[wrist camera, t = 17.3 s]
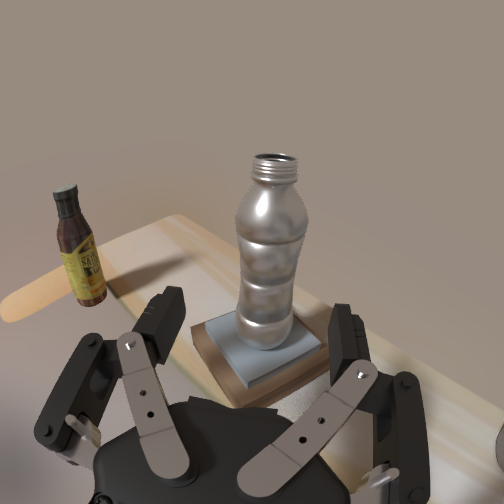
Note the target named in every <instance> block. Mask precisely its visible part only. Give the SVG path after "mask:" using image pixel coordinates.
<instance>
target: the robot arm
mask: <svg viewBox="0 0 504 504" xmlns="http://www.w3.org/2000/svg"><path fill="white" fill-rule="evenodd" d="M185 315H186V307H185V302H184V296H183V291H182V288H181V287H174V286H167V287H166V289H165V290H164V292H163V294H157V295H156V296H154V297H153V298H152V299H151V300H150V302H149V303H148V305H147V307H146V308H145V310H144V312H143V313H142V315H141V316H140V318H139V319H138V321H137V323H136V324H135V326H134V328H133V330H132V331H131V332H127V333H124V334H123V335H121V336H120V337H119V338H118V340H103V338H102V336H101V335H100V334H98V333H89V334H87V335H85V336H84V337H83V338H82V339H81V341H80V342H79V344H78V345H77V347H76V349H75V351H74V352H73V354H72V356H71V357H70V359H69V361H68V363H67V364H66V366H65V368H64V370H63V372H62V373H61V375H60V377H59V379H58V381H57V382H56V384H55V386H54V388H53V390H52V392H51V394H50V396H49V398H48V400H47V401H46V404H45V406H44V408H43V410H42V412H41V414H40V416H39V418H38V420H37V422H36V424H35V427H34V436H35V438H36V440H37V441H38V442H39V443H40V444H42V445H43V446H44V447H46V448H47V449H48V450H49V451H50V452H52V453H53V454H55V455H56V456H58V457H59V458H61V459H63V460H65V461H67V462H68V463H70V464H72V465H81V466H84V467H85V468H88V469H90V470H92V471H93V472H94V479H95V490H94V495H93V497H92V499H91V501H90V502H89V503H88V504H427V502H428V500H429V498H430V465H429V450H428V439H427V430H426V422H425V415H424V408H423V401H422V395H421V390H420V384H419V381H418V379H417V377H416V376H415V375H414V374H412V373H410V372H406V371H404V372H400V373H398V374H397V375H396V376H391V375H388V374H384V373H381V372H379V371H378V370H377V368H376V366H375V365H374V364H373V363H371V360H370V354H369V348H368V343H367V338H366V333H365V328H364V323H363V321H362V320H361V318H360V317H359V315H354V314H353V315H352V314H351V310H350V305H349V304H336V303H335V305H334V308H333V312H332V315H331V319H330V323H329V327H328V344H329V361H330V383H331V389H330V390H329V391H325V392H324V393H323V394H322V395H321V396H320V397H319V398H318V399H317V400H316V401H315V402H314V404H313V405H312V406H311V407H310V408H309V409H308V410H307V411H306V412H305V413H304V414H303V415H302V416H301V417H300V418H299V419H298V420H297V421H296V422H295V423H293V422H292V421H290V420H289V419H287V418H285V417H283V416H280V415H277V412H278V409H271V408H262V407H248V408H236V409H232V408H228V407H226V406H224V405H221V404H219V403H216V402H214V401H212V400H208V399H203V398H197V397H192V396H189V399H188V401H185V402H178V403H175V404H172V405H169V403H168V401H167V399H166V396H165V394H164V391H163V389H162V386H161V384H160V381H159V378H158V376H157V373H156V370H155V367H156V364H157V363H159V364H163V365H164V364H165V362H166V360H167V357H168V355H169V353H170V350H171V348H172V346H173V344H174V341H175V339H176V337H177V335H178V332H179V330H180V328H181V326H182V324H183V321H184V319H185ZM118 378H122V380H123V384H124V388H125V391H126V395H127V398H128V402H129V405H130V409H131V412H132V415H133V418H134V421H135V424H136V426H135V427H133V428H131V429H130V430H128V431H126V432H125V433H123V434H121V435H119V436H118V437H116V438H114V439H112V440H111V441H109V442H107V443H105V444H104V445H102V446H101V445H100V444H101V432H100V430H99V429H98V426H99V423H100V421H101V418H102V416H103V413H104V411H105V408H106V406H107V404H108V401H109V399H110V396H111V394H112V392H113V389H114V387H115V385H116V382H117V380H118ZM356 409H358V410H361V411H365V412H368V413H372V414H373V469H372V470H371V471H369V472H367V473H366V474H365V475H364V476H363V477H362V479H361V481H360V484H359V487H358V489H357V491H356V492H355V493H354V494H350V493H349V491H348V489H347V488H346V486H345V485H344V484H343V483H342V481H341V480H340V479H339V478H338V477H337V475H336V474H335V473H334V472H333V471H332V469H331V468H330V467H329V466H328V464H327V463H326V462H325V461H324V459H323V458H322V457H321V456H320V454H319V453H320V452H321V451H322V450H323V449H324V448H325V447H326V445H327V444H328V443H329V442H330V441H331V440H332V438H333V437H334V436H335V435H336V434H337V432H338V431H339V430H340V429H341V428H342V426H343V425H344V424H345V423H346V421H347V420H348V419H349V418H350V416H351V415H352V414H353V413H354V411H355V410H356ZM496 455H497V459H498V463H499V465H500V467H501V468H502V469H503V471H504V427H503V428H502V429H501V431H500V433H499V435H498V438H497V443H496Z"/></svg>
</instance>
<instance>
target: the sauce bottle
mask: <svg viewBox="0 0 504 504" xmlns="http://www.w3.org/2000/svg"><path fill="white" fill-rule="evenodd" d="M53 196H54V200H55V201H56V205H57V210H58V217H59V219H60V220H59V224H58V229H57V240H58V243H59V247H60V252H61V256H62V259H63V262H64V266H65V269H66V272H67V275H68V278H69V281H70V284H71V286H72V289H73V292H74V295H75V296H76V297H77V300H78V302H79V303H80V304H81V305H82V306H85V307H92V306H95V305H97V304H99V303H101V302H102V301H103V300H104V299H105V298H106V296H107V289H106V282H105V279H104V275H103V272H102V268H101V265H100V261H99V257H98V253H97V249H96V245H95V241H94V236H93V232H92V230H91V228H90V227H89V225H88V223H87V222H86V220H85V218H84V216H83V215H82V213H81V209H80V206H79V201H78V189H77V185H76V184H68V185H65V186H62V187H59V188H57V189H55V190H54V191H53Z"/></svg>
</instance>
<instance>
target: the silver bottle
mask: <svg viewBox="0 0 504 504" xmlns="http://www.w3.org/2000/svg"><path fill="white" fill-rule="evenodd" d="M297 164H298V161H297V158H296V157H294V156H291V155H287V154H280V153H261V154H256V155H254V156H253V169H252V172H251V179H252V180H254V181H255V182H254V185H253V186H252V188H251V189H250V190H249V191H248V192H247V193H246V195H245V196H244V198H243V199H242V201H241V202H240V204H239V206H238V209H237V212H236V215H235V224H236V232H237V239H238V246H239V253H240V269H241V272H240V273H241V283H240V292H239V301H238V304H237V307H236V313H235V320H234V321H235V327H236V331H237V334H238V337H239V338H240V339H241V340H242V341H243V342H244V343H245V344H246V345H248V346H250V347H251V348H254V349H258V350H268V349H272V348H275V347H277V346H279V345H281V344H282V343H283V342H284V341H285V340H286V339H287V338H288V336H289V333H290V331H291V329H292V326H293V306H292V301H293V282H294V277H295V272H296V267H297V262H298V258H299V254H300V251H301V248H302V245H303V241H304V238H305V233H306V230H307V225H308V215H307V210H306V207H305V205H304V203H303V201H302V199H301V197H300V196H299V194H298V193H297V191H296V189H295V188H294V183H295V182H297V179H298V174H297Z"/></svg>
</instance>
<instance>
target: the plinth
mask: <svg viewBox="0 0 504 504" xmlns="http://www.w3.org/2000/svg"><path fill="white" fill-rule="evenodd" d="M235 313H236V310H235V311H233V312H230V313H227V314H225V315H222V316H219V317H217V318H214V319H211V320H208V321H206V322H203V323H200V324H197V325H195V326H192V327H190V328H191V334H192V339H193V344H194V346H195V348H196V350H197V351H198V353H199V354H200V356H201V358H202V359H203V361H204V363H205V364H206V366H207V367H208V369H209V371H210V372H211V374H212V375H213V377H214V378H215V380H216V381H217V383H218V384H219V386H220V387H221V389H222V390H223V392H224V393H225V395H226V396H227V398H228V399H229V401H230V402H231V404H232V405H233V407H234V408H235V409H236V408H248V407H262V408H266V407H268V406H269V405H271V404H273V403H275V402H277V401H279V400H280V399H282V398H284V397H286V396H287V395H289V394H291V393H293V392H294V391H296V390H298V389H299V388H301V387H303V386H304V385H306V384H307V383H309V382H311V381H312V380H314V379H315V378H317V377H319V376H320V375H322V374H323V373H325V372H326V371H328V370H329V369H330V361H329V346H328V345H327V344H326V343H325V342H324V341H322V340H321V339H320V338H319V337H318V336H317V335H316V334H315V333H314V332H313V331H312V330H311V329H309V328H308V327H307V326H306V325H305V324H304V323H303V322H302V321H301V320H300V319H299V318H298V317H297V316H295V315H294V314H293V326H292V329H291V331H290V333H289V336H288V338H287V339H286V340H285V341H284V342H283V343H282V344H281V345H279V346H277V347H275V348H272V349H268V350H258V349H254V348H251V347H250V346H248V345H246V344H245V343H244V342H243V341H242V340H241V339H240V338H239V337H238V334H237V331H236V327H235V321H234V320H235Z"/></svg>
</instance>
